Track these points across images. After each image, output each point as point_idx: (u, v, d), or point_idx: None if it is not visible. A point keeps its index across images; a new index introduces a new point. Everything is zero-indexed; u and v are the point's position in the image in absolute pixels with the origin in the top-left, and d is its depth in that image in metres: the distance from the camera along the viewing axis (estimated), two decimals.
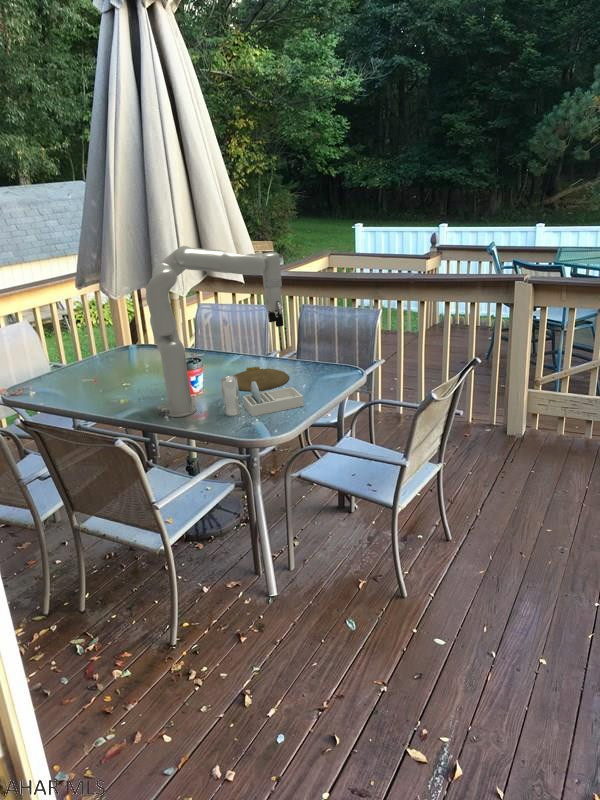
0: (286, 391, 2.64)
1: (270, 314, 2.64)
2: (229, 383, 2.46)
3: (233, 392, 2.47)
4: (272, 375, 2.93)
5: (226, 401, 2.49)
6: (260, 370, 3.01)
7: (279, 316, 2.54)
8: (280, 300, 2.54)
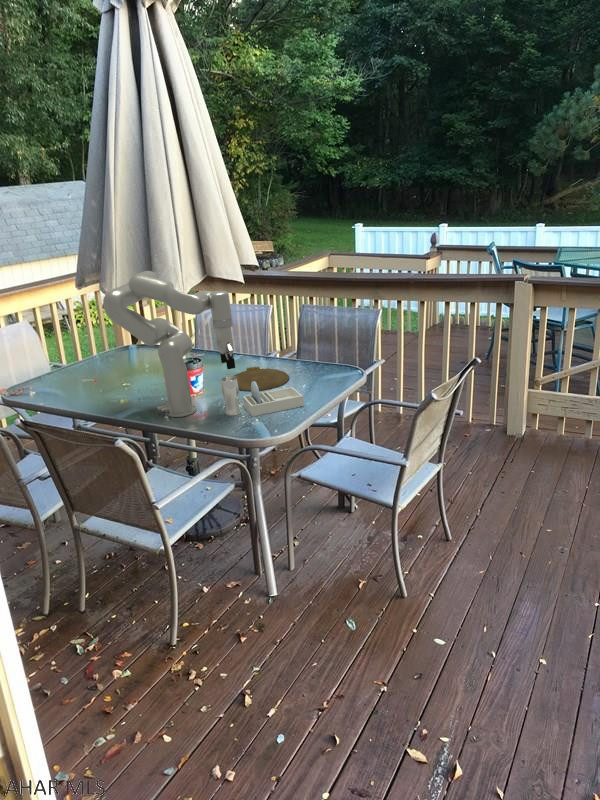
0: (286, 391, 2.64)
1: (222, 355, 2.49)
2: (229, 383, 2.46)
3: (233, 392, 2.47)
4: (272, 375, 2.93)
5: (226, 401, 2.49)
6: (260, 370, 3.01)
7: (230, 358, 2.39)
8: (231, 341, 2.39)
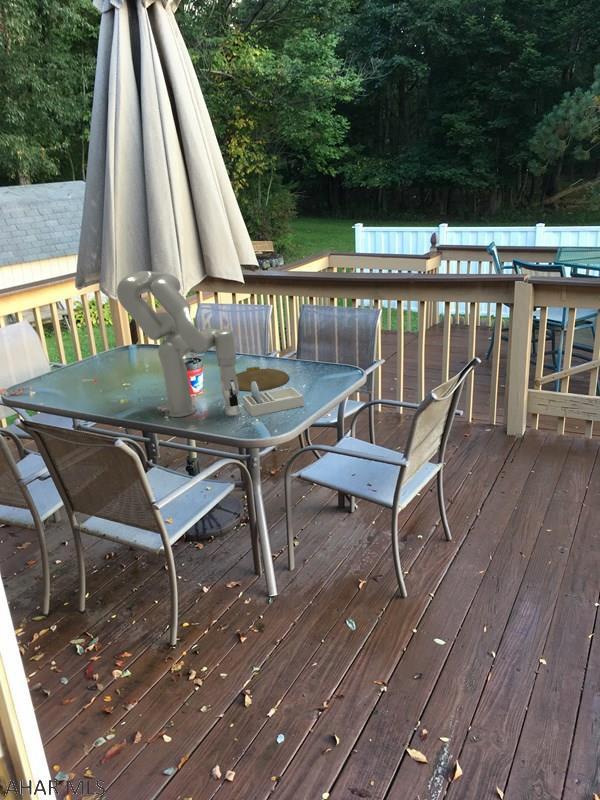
0: (286, 391, 2.64)
1: None
2: None
3: None
4: (272, 375, 2.93)
5: (226, 401, 2.49)
6: (260, 370, 3.01)
7: (233, 396, 2.46)
8: (234, 379, 2.44)
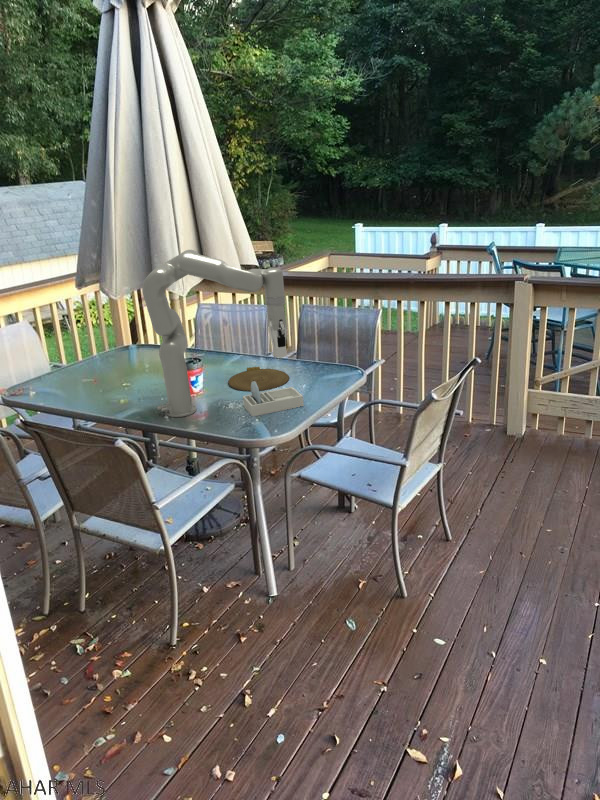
0: (286, 391, 2.64)
1: None
2: None
3: None
4: (272, 375, 2.93)
5: (274, 342, 2.47)
6: (260, 370, 3.01)
7: (281, 336, 2.44)
8: (283, 318, 2.42)
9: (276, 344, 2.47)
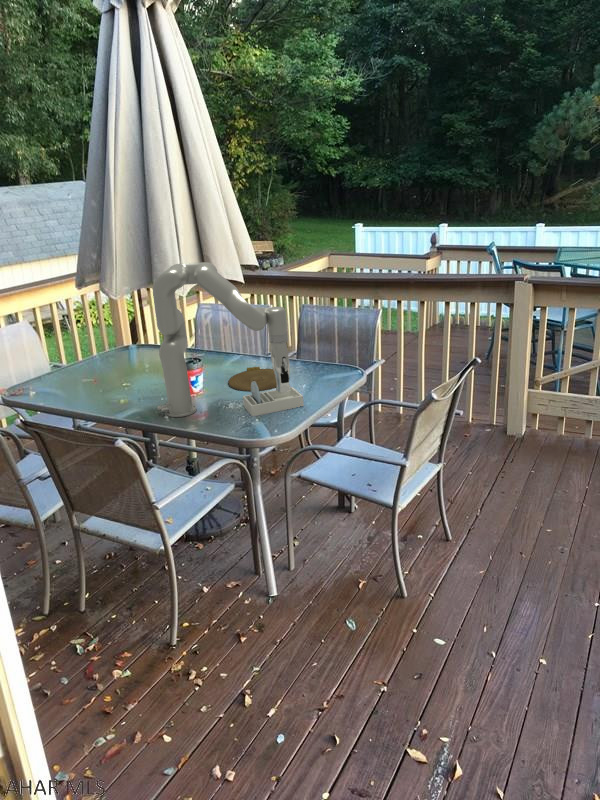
0: None
1: None
2: None
3: None
4: (272, 375, 2.93)
5: (277, 378, 2.53)
6: (260, 370, 3.01)
7: (284, 373, 2.49)
8: (286, 355, 2.48)
9: (279, 380, 2.53)
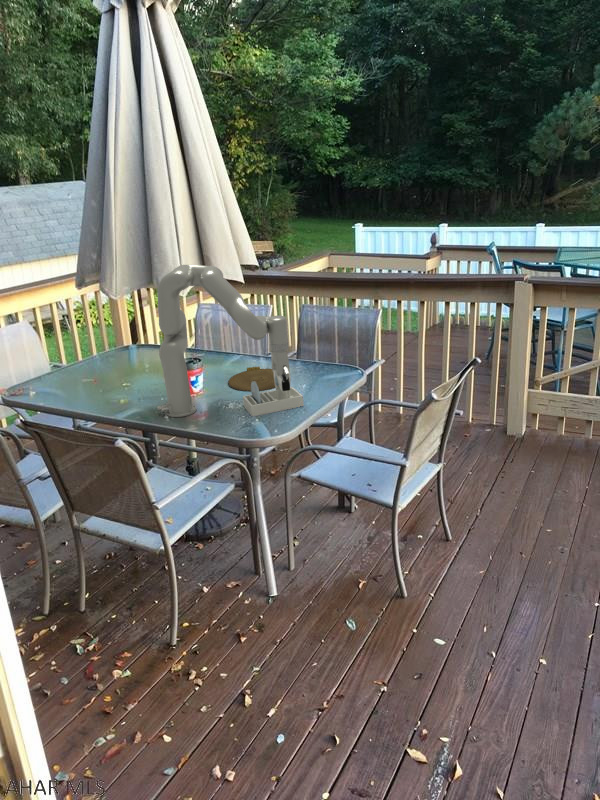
0: None
1: None
2: None
3: None
4: (272, 375, 2.93)
5: (278, 390, 2.54)
6: (260, 370, 3.01)
7: (286, 381, 2.50)
8: (287, 364, 2.49)
9: (280, 392, 2.54)
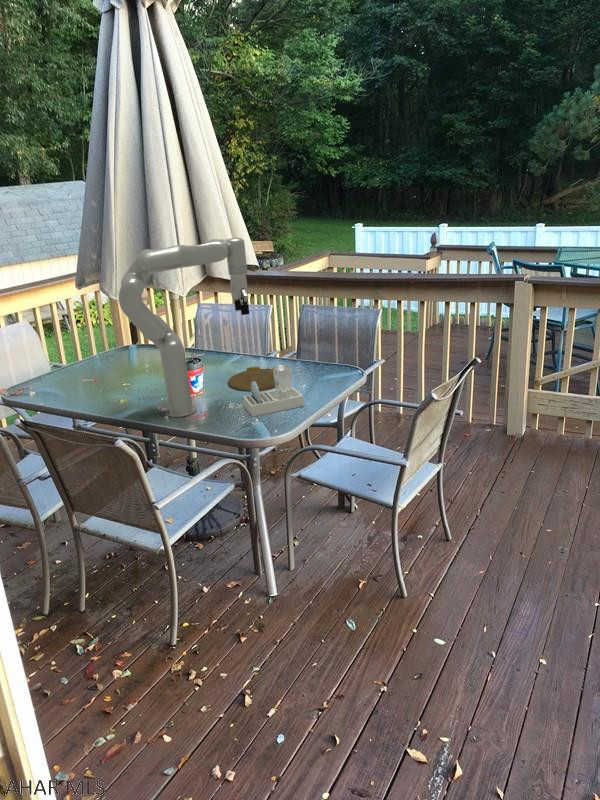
0: None
1: (236, 302, 2.56)
2: (282, 372, 2.51)
3: (285, 381, 2.52)
4: (272, 375, 2.93)
5: (278, 390, 2.54)
6: (260, 370, 3.01)
7: (244, 304, 2.46)
8: (245, 287, 2.46)
9: (280, 392, 2.54)
